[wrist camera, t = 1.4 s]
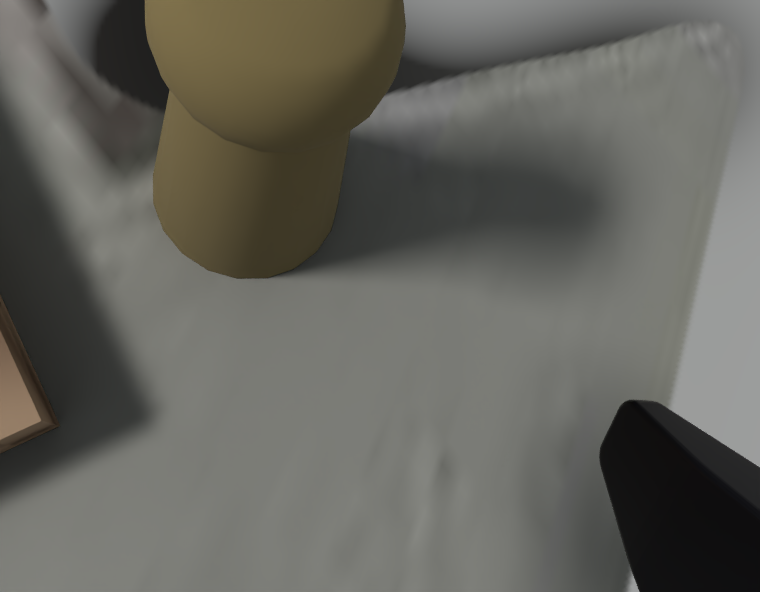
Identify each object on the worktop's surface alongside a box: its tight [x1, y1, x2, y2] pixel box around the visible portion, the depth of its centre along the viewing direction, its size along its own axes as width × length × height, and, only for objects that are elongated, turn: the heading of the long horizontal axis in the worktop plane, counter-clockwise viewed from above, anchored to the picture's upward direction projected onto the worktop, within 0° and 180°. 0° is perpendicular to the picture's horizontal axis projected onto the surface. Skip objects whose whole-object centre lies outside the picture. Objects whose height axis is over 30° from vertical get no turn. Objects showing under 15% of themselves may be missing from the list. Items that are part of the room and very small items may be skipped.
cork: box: [145, 0, 406, 278], centre depth 18 cm, size 6×6×11 cm
